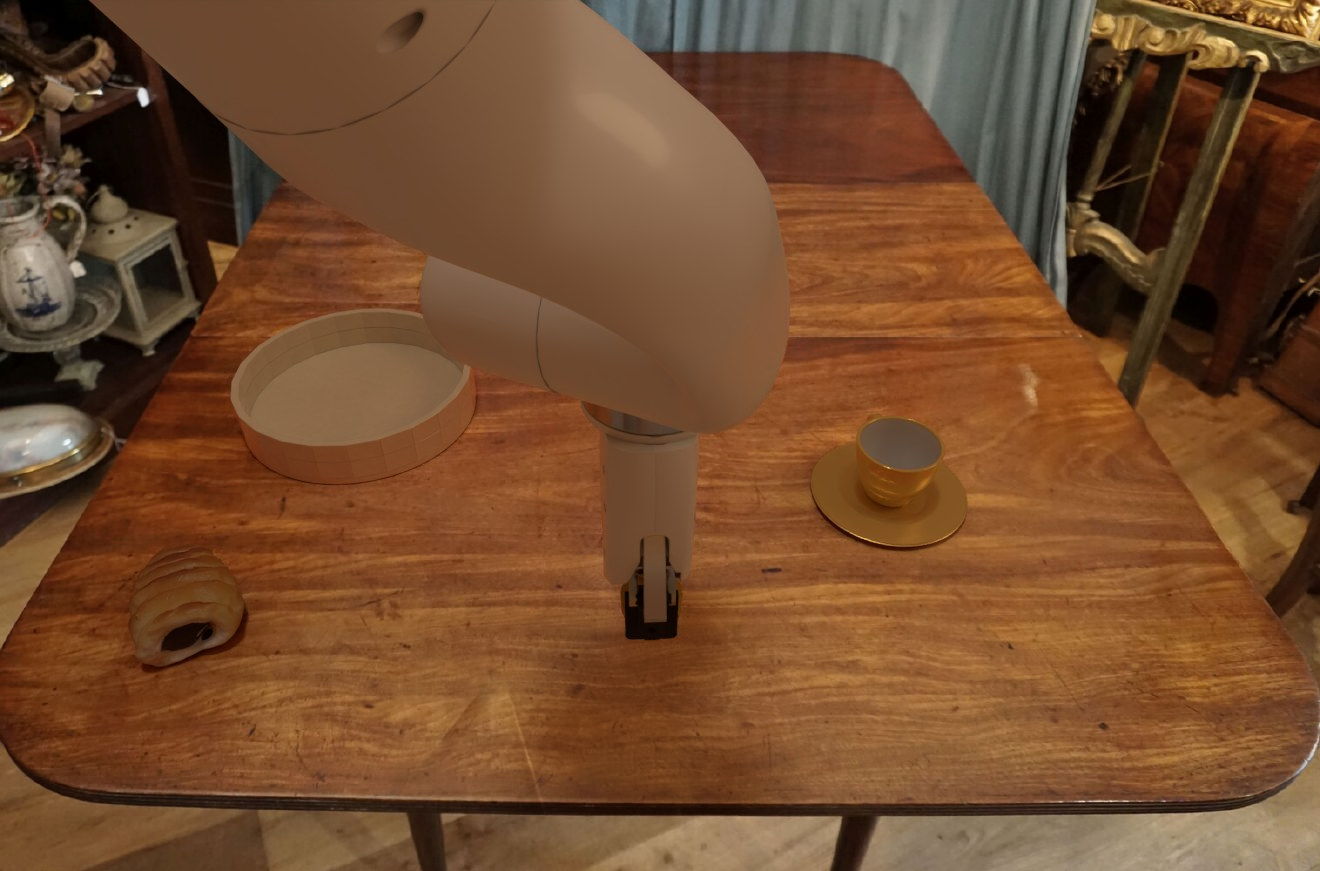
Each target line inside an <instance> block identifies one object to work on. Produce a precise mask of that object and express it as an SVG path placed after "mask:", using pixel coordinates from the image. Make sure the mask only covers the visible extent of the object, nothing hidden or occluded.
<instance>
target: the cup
mask: <svg viewBox="0 0 1320 871" xmlns="http://www.w3.org/2000/svg"><path fill="white" fill-rule="evenodd" d="M855 437H856V438H855V441H853V442H849V443H845V444H842V445H839V446H838V447H837V446H836V447H835V448H833V449H831V450H830V451H828V452H826V453H825V454H824V455H822V457H821V458H820V459H819V460H818V461H817V462H816V463H815V466H814V468H813V470H812V473H811V476H810V488H811V494H812V497H813V499H814V502H815V503H816V505H817V506H818V508H819V509H820V511H821V512H822V513H823V514H824V515H825V516H826V517H827V518H828V519H829V520H830V521H831V522H832V523H834V524H835V525H836V526H837V527H838V528H840V529H842V530H844V531H845V532H847V533H849V534H851V535H853V536H855V537H857V538H859V539H861V540H864V541H868V542H869V543H874V544H879V545H883V546H889V547H898V548H899V547H900V548H901V547H902V548H907V547H920V546H921V547H922V546H926V545H930V544H934V543H936V542H940V541H941V540H943V539H946V538H947V537H949V536H950V535H952V534H953V533H955V532H956V531H957V530H958V529H959V528H960V526H962V524H963V523H964V521H965V519H966V516H967V513H968V505H969V500H968V496H967V492H966V488H965V487H964V484H963V483H962V482H961V480H960V479H959V477H958V476H957V474H955V473H954V471H953V470H952V469H951V468H950V467H949V466H948V465H946V464H945V463H944V462H943V460H944V457H945V454H946V446H945V442H944V440H943V439H942V437H941V435H940V434H939V433H938V432H937V431H936V430H935V429H933V428H932V427H931V426H929V425H927V424H926V423H924V422H922V421H920V420H917V419H914V418H912V417H907V416H904V415H903V416H902V415H882V414H881V413H871V414H869V415H868V416H867V417H866V420H865V422H864V423H863V424H862V425H861V426H860V427H859V429H858V430H857V433H856V436H855Z"/></svg>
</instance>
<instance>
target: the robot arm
mask: <svg viewBox="0 0 1320 871" xmlns="http://www.w3.org/2000/svg"><path fill="white" fill-rule="evenodd" d="M88 1H89V2H90V3H91V4H92V5H93V6H94V7H96V8H97V9H98V10H99V11H100V12H101V13H102V14H103V15H104V16H106V17H107V19H109V20H110V21H111V22H113V24H114V25H116V27H117V28H119V29H120V30H121V31H122V32H123V33H124V34H126V35H127V37H128V38H130V39H131V40H132V41H133V42H134V43H135V44H136V45H137V46H139V47H140V48H141V49H142V50H143V51H144V52H145V53H146V54H148V55H149V57H151V58H152V59H153V60H154V61H155V62H157V64H158V65H159V66H161V67H162V69H164V70H165V71H166V72H168V74H170V75H171V77H173V78H174V79H175V80H176V81H177V82H179V84H181V85H182V86H183V87H184V88H185V89H186V90H187V91H188V92H190V94H192V95H193V96H194V97H195V98H196V100H197V101H198V102H199V103H200V104H201V105H202V106H203V107H204V108H205V109H206V110H208V111H209V112H210V113H211V114H212V115H213V116H214V117H215V118H216V119H217V120H218V121H219V122H220V123H222V124H223V125H224V126H225V127H226V128H227V129H228V130H229V131H230V132H232V133H233V135H235V136H236V138H238V139H239V140H240V141H241V142H242V143H244V145H246V146H247V147H248V148H249V149H250V151H252V152H253V153H254V154H255V155H256V156H257V157H258V158H259V159H260V160H261V161H262V162H263V163H264V164H265V165H267V166H268V167H269V168H270V169H271V170H272V171H274V172H275V173H277V174H278V175H279V176H280V177H281V178H282V179H284V180H285V182H287V183H288V184H290V186H292V187H293V188H295V189H297V190H298V191H300V192H302V193H303V194H304V195H307V196H308V197H310V198H311V199H313V200H315V201H317V202H318V203H320V204H322V205H324V206H326V207H327V208H330V209H331V210H334V211H335V212H338V213H340V214H342V215H344V216H345V217H347V218H349V219H351V220H353V221H355V222H357V223H359V224H361V225H363V226H365V227H367V228H369V229H371V230H372V231H374V232H377V233H379V234H381V235H383V236H385V237H388V238H389V239H391V240H393V241H395V242H398V243H399V244H402V245H404V246H405V247H408V248H409V249H412V250H414V251H416V252H417V251H418V252H420V253H422V254H425V255H427V257H426V260H425V264H424V266H423V270H422V273H421V277H420V278H421V279H420V284H419V301H420V312H421V314H422V315H423V319H424V322H425V324H426V326H427V329H428V331H429V333H430V334H431V336H432V337H433V339H434V340H435V342H436V343H437V344H438V345H439V346H440V347H441V348H442V349H443V350H444V351H445V352H446V353H448V354H449V355H450V356H452V357H453V358H455V359H456V360H458V361H460V362H462V363H463V364H465V365H467V366H469V367H472V368H473V369H475V370H477V371H480V372H482V373H485V374H488V375H491V376H495V377H498V378H501V379H505V380H508V381H511V382H514V383H518V384H522V385H525V386H528V387H532V388H535V389H539V390H542V391H545V392H548V393H552V394H556V395H558V396H565V397H568V398H571V399H575V400H579V401H580V407H581V410H582V412H583V415H584V416H585V417H586V419H587V420H588V421H589V422H590V423H591V424H592V425H593V427H595V428H596V429H598V431H599V433H598V435H599V437H598V438H599V440H598V441H599V442H598V443H599V445H598V446H599V447H598V448H599V449H598V450H599V480H600V481H599V483H600V485H599V486H600V509H601V534H602V566H603V568H602V569H603V577H604V579H605V580H606V581H607V582H608V583H609V584H611V585H623V584H626V583H627V582H628V581H629V591H625V618H624V637H625V638H626V639H627V640H631V641H634V640H635V641H637V640H643V641H659V640H672V639H675V638H676V637H677V636H678V624H679V623H678V622H679V621H678V620H679V617H678V601H679V594H678V590H676V580H679V581H678V582H679V583H683V581H685V580H686V579H687V578H688V577H689V576H690V573H691V568H692V562H693V553H694V552H693V550H694V541H695V530H696V528H695V527H696V516H697V514H696V513H697V500H698V486H699V485H698V484H699V482H698V481H699V467H700V466H699V464H700V440H701V434H702V435H714V434H719V433H723V432H726V431H729V430H732V429H734V428H735V427H737V426H739V425H740V424H742V423H743V422H745V421H746V420H748V419H749V418H750V417H751V416H752V415H753V414H754V413H755V412H756V411H757V410H758V409H759V407H761V405H762V403H763V402H764V401H765V399H767V397H768V395H769V394H770V393H771V391H772V389H773V386H774V385H775V383H776V380H777V378H778V376H779V373H780V370H781V368H782V365H783V363H784V362H783V361H784V359H785V354H786V351H787V346H788V340H789V336H790V325H791V288H790V276H789V269H788V265H787V264H788V262H787V258H786V252H785V251H786V250H785V246H784V242H783V236H782V231H781V226H780V223H779V222H780V221H779V217H778V213H777V209H776V205H775V203H774V200H773V196H772V193H771V190H770V188H769V185H768V183H767V180H766V178H765V176H764V174H763V173H762V171H761V170H760V168H759V166H758V165H757V163H756V161H755V160H754V158H753V156H752V155H751V154H750V153H749V151H748V150H747V149H746V148H745V147H744V145H743V144H742V143H741V142H740V141H739V139H738V138H737V137H736V135H734V134H733V132H732V131H730V129H728V127H727V126H726V125H725V124H724V123H723V122H722V121H721V120H720V119H719V118H718V117H717V116H716V115H715V113H713V112H712V111H710V110H709V109H708V108H707V107H706V106H705V105H704V104H703V103H702V102H701V101H699V100H698V99H697V98H696V97H695V96H693V94H691V92H689V91H688V90H687V89H686V88H684V87H683V86H682V85H681V84H680V83H679V82H678V81H676V80H675V79H674V78H673V77H671V75H670V74H668V73H667V71H666V70H664V69H663V68H662V67H661V66H660V65H659V64H658V63H657V62H655V61H654V60H653V59H652V58H651V57H649V56H648V55H647V54H646V53H645V52H643V50H641V49H640V48H639V47H638V46H636V44H634V43H633V42H632V41H631V40H630V39H629V38H627V36H625V35H624V34H623V33H621V31H620V30H618V29H617V28H616V27H615V26H613V25H612V24H611V23H610V22H608V21H607V20H606V19H605V18H603V17H602V16H601V15H599V13H597V12H595V10H593V9H592V8H591V7H589V6H588V5H586V4H585V3H584V2H583V1H582V0H88ZM638 574H643V585H638Z"/></svg>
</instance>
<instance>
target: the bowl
mask: <svg viewBox="0 0 1320 871" xmlns="http://www.w3.org/2000/svg"><path fill="white" fill-rule="evenodd" d="M474 371H475V370H474V368H472V367H469V366H467V365H465V364H463V363H462V362H460V361H458V360H456V359H455V358H453V357H452V356H450V355H449V354H448V353H446V352H445V351H444V350H443V349H442V348H441V347H440V346H439V345H438V344H437V343H436V342H435V340H434V339H433V337H432V336H431V334H430V333H429V331H428V329H427V326H426V324H425V322H424V319H423V315H422V313H420V312H417V311H411V310H403V309H395V308H388V307H387V308H356V309H350V310H342V311H336V312H331V313H327V314H324V315H320V316H316V317H314V318H313V317H312V318H310V319H307V320H304V321H301V322H299V323H297V324H294V325H292V326H289V327H288V328H285V329H283V330H281V331H279V332H277V333H275V334H274V335H273V336H271V337H269V338H268V339H266V340H265V341H263V342H262V343H260V344H258V345H257V346H256V347H255V348H254V349H253V350H252V351H251V352H250V353H249V354H248V355H247V356H246V357H245V358H244V359H243V360H242V362H241V363H240V364H239V366H238V368H237V370H236V371H235V374H234V375H233V378H232V380H231V382H230V383H231V384H230V403H231V406H232V409H233V411H234V414H235V417H236V419H237V422H238V426H239V428H240V432H241V433H242V435H243V438H244V440H245V443H246V445H247V447H248V450H250V452H251V454H252V455H253V456H254V457H255V459H257V461H258V462H259V463H260V464H262V465H264V467H266V468H268V469H269V470H271V471H273V472H275V473H277V474H279V475H281V476H284V477H287V478H290V479H293V480H296V481H301V482H306V483H313V484H320V485H348V484H349V485H351V484H359V483H365V482H373V481H377V480H381V479H385V478H389V477H392V476H393V477H394V476H395V475H398V474H402V473H404V472H407V471H409V470H412V469H414V468H417V467H419V466H421V465H423V464H425V463H427V462H428V461H431V460H432V459H434V458H435V457H437V456H438V455H439V454H441V453H443V452H444V451H445V450H447V449H448V448H449V447H451V445H453V444H454V443H455V442H456V441H457V440H458V439H459V438H460V436H462V434H463V433H464V431H465V430H466V429H467V427H468V426H469V424H470V422H471V421H472V419H473V416H474V413H475V410H476V405H477V387H476V378H475V372H474Z"/></svg>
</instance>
